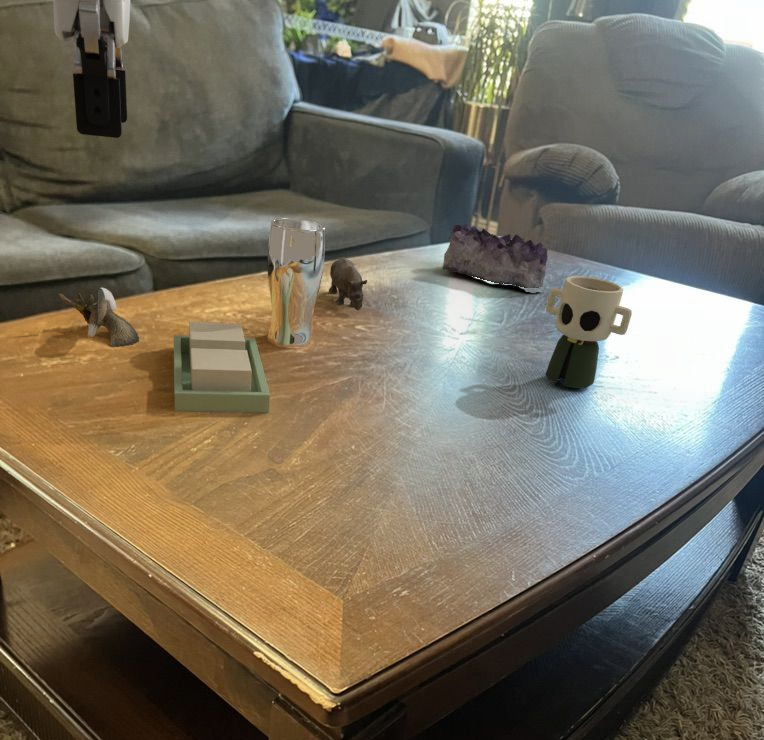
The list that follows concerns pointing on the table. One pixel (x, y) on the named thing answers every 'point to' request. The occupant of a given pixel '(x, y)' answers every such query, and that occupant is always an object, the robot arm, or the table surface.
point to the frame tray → (218, 399)
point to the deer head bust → (104, 318)
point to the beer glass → (294, 279)
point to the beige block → (215, 336)
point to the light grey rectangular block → (220, 370)
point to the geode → (495, 257)
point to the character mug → (583, 327)
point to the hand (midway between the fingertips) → (104, 127)
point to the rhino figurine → (347, 282)
